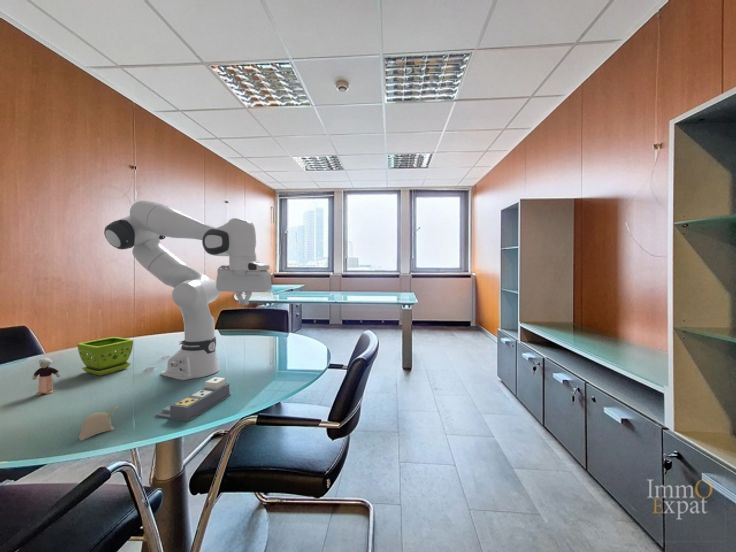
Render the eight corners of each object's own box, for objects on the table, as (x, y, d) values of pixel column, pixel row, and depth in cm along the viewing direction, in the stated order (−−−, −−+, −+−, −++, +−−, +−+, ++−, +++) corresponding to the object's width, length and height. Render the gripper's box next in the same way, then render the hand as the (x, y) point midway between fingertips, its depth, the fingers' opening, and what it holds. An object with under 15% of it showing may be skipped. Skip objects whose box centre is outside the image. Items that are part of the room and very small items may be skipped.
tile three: (175, 415, 90) (174, 403, 90) (187, 408, 94) (186, 397, 94) (187, 417, 89) (187, 405, 89) (199, 410, 93) (198, 398, 93)
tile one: (205, 392, 102) (205, 381, 101) (215, 386, 106) (214, 376, 106) (216, 393, 101) (216, 382, 100) (225, 388, 105) (225, 377, 105)
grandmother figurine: (28, 397, 103) (26, 360, 103) (34, 393, 107) (32, 357, 106) (59, 393, 107) (57, 357, 106) (63, 388, 110) (62, 354, 110)
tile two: (191, 406, 96) (190, 394, 96) (201, 400, 100) (201, 389, 100) (203, 407, 95) (202, 396, 95) (213, 401, 99) (213, 390, 99)
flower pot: (97, 379, 120) (95, 347, 119) (77, 374, 125) (75, 343, 124) (135, 367, 133) (134, 338, 132) (115, 363, 138) (114, 335, 137)
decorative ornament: (77, 435, 81) (76, 416, 81) (117, 422, 87) (116, 404, 87) (80, 441, 78) (79, 421, 78) (120, 427, 85) (120, 409, 84)
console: (155, 416, 91) (155, 403, 91) (201, 391, 108) (201, 380, 108) (188, 421, 88) (188, 407, 88) (230, 394, 105) (230, 383, 105)
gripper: (211, 265, 106) (212, 304, 106) (263, 265, 101) (264, 306, 102) (223, 265, 112) (224, 302, 113) (273, 265, 107) (274, 304, 108)
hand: (243, 304), depth 107 cm, fingers closed
